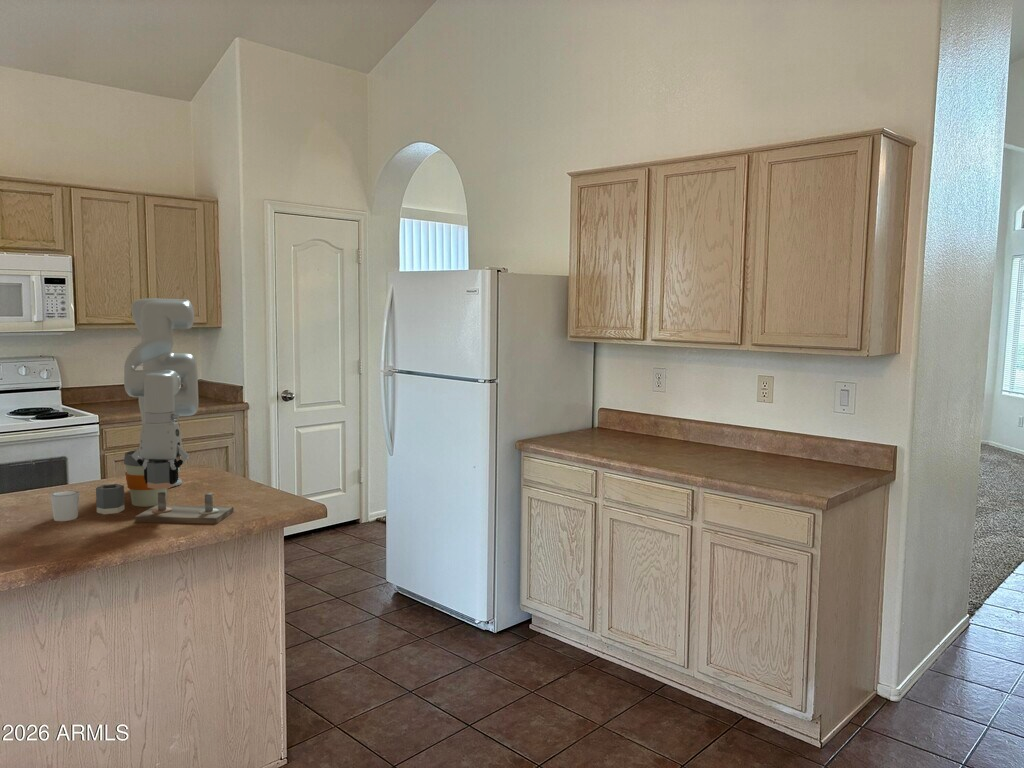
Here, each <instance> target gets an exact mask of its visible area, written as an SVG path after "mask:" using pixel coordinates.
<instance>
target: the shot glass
mask: <svg viewBox="0 0 1024 768" xmlns="http://www.w3.org/2000/svg"><path fill="white" fill-rule="evenodd" d="M49 495H50V503H51V508H52V509H51V510H52V516H53V521H54V522H55V521H56V522H66V521H68V522H69V521H73V520H76V519H78V517H79V503H80V502H79V500H80V491H78V490H61V491H55V492H52V493H50V494H49Z"/></svg>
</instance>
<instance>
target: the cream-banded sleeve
mask: <svg viewBox="0 0 1024 768" xmlns="http://www.w3.org/2000/svg"><path fill="white" fill-rule="evenodd" d="M95 499H96V500H95V501H96V513H97V514H100V515H101V514H102V515H109V514H110V515H111V514H118V513H119V514H120V513H121V512H122V511H124V510H125V485H123V484H119V483H111V484H109V483H108V484H102V485H100V486H97V487H95Z"/></svg>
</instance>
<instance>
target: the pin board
mask: <svg viewBox="0 0 1024 768" xmlns="http://www.w3.org/2000/svg"><path fill="white" fill-rule="evenodd" d="M213 494H214V493H207V492H206V493H204V505H176V504H175V505H173V504H172V505H171V504H170V505H169V504H167V494H166V493H165V492H160V493H158V505H155V506H151V507H150V508H148V509H147V510H146V509H145V510H144V511H143V512H141V513H139V514H137V515H135V516H134V521H135V523H170V524H171V523H172V524H174V523H175V524H208V525H209V524H211V525H212V524H214V525H215V524H218V523H220V522H221V521H223V520H224V519H225V518H227V517H228V516H230V515H232V513H234V506H220V505H218V506H214V500H213V499H214V498H213V496H214V495H213Z"/></svg>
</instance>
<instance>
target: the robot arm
mask: <svg viewBox="0 0 1024 768" xmlns="http://www.w3.org/2000/svg"><path fill="white" fill-rule="evenodd" d="M130 307H131V309H130V311H131V317H132V320H133V322H134V324H135V327H136V328H137V331H138V333H139V335H140V340H141V341H140V342H139V343H138V344H137V345H135V346H134V347H133V349H132V350H131V351H130V352H129V353H128V355H127V357H126V359H125V361H124V366H123V367H124V369H123V374H124V375H123V379H124V380H123V384H124V390H125V393H126V394H127V395H128V396H129V397H132V398H138V406H139V412H140V416H141V417H140V418H141V430H140V436H139V447H138V448H137V449H135V450H136V451H135V452H134V453H133V454H132V457H133V458H134V459H135V460H136V461H137V462H138V463H139V464H140V465H141V466H142V469H144V480H145V483H146V484H147V462H149V461H151V460H168V462H170V467H171V470H170V484H174V483H175V485H174V486H172V487H171V488H174V487H177V486H180V485H182V483H183V481H182V478H179V473H180V471H181V469H180V468H181V466H182V465H183V464H184V463H185V462H186V461H187V460H188V459H189V458H190V454H189V453H188V452H187V451H186V450H185V449H184V448H183V442H182V441H183V440H182V435H181V428H180V425H179V422H178V421H176V420H180V417H189V416H193V415H196V413H197V412H198V410H199V384H198V383H199V380H198V379H199V378H198V377H199V376H198V375H199V374H198V365H197V361H196V360H197V359H196V358H195V357H194V356H193V354H191V353H184V352H181V353H180V352H175V353H174V352H172V349H173V346H174V335H173V332H174V330H190V329H192V327H193V325H194V322H195V312H194V311H195V310H194V307H193V305H192V302H191V301H190V300H189V299H187V298H185V299H184V298H183V299H182V298H161V297H160V298H159V297H158V298H155V297H154V298H150V297H149V298H139V299H136V300H134V301H133V302H132V303H131V306H130ZM140 365H142V369H139V370H136V369H137V367H139V366H140ZM182 385H183V386H182ZM178 458H180V459H178Z"/></svg>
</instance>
